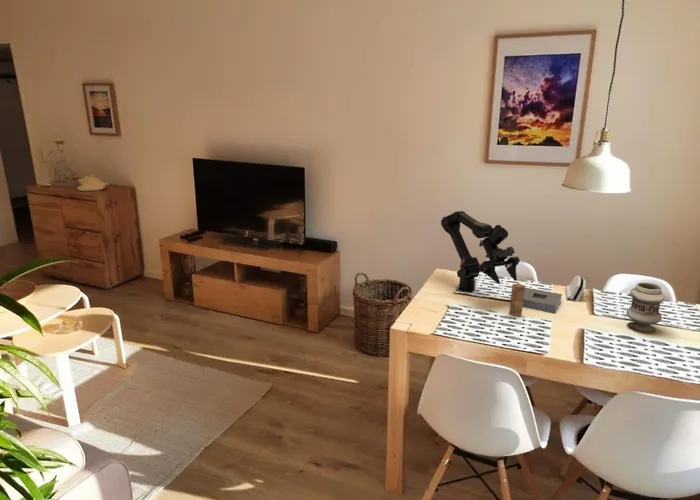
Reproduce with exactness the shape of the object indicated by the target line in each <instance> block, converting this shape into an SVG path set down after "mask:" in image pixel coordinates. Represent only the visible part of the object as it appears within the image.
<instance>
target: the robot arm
mask: <svg viewBox="0 0 700 500" xmlns="http://www.w3.org/2000/svg"><path fill="white" fill-rule="evenodd" d="M461 224H462V225H464V226H465V227H467V228H468V229H470V230H471V233H472V234H473V235H474V237H475V238H477V239H482V240H480V243H479V245H478V247H482V248H483V249H484V251H485V253H486V255H485V259H489V260H484V261H482V262H481V263H480V262H479V259H478V258H477V257H474V256H472V255H471V253H470V251H469V248H468V247H467V244H466V242H465V240H464V237H463V235H462V233H461V230H460V229H461ZM440 225H441V227H442V229H443V230H444V231H445V233H447V234H448V235H449V236H450V238H451V240H452V242H453V245H454V247H455V250H456V252H457V254H458V257H459V258H460V265H459V267H460V268H459V270H458V271H456V274H457V277H458V278H459V285H458V288H457V290H458V291H463V292H468V293H472V292H473V291H474V290H475V289H476V278H478V277H479V275H480V273H482V274H485V275H486V276H487V277H489V278H491V279H492V280H493V281H494V282H496V283H497V284H500V283H501V281H500V278H499V276H498V273H497V272H496V267H505V270H506V271H507V272H508V274H509V275H510V277H511V278H512V280H514V282H516V281H517V277H518V276H517V266H518V265H519V263H520V262H521V260H520V258H519V256H514V254H515V248H514V247H513V246H508V247H506V248H505V249H502V248H499V245H500V244H501V243H503V241H505V240H506V239H507V238H508V236H509V232H508V230H507V229H505V227H502V226H501V224H496V225H495V226H494V227H492V225H491V224H489V223H485V222H481V221H478V220H476V218H473V216H470V215H469V214H467V213H466V212H465V211H464V210H461V211H460V210H457V211H454V212H453V213H451V214H448V215H445V216H443V217H442V219H441V220H440ZM508 257H509V258H508Z"/></svg>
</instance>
